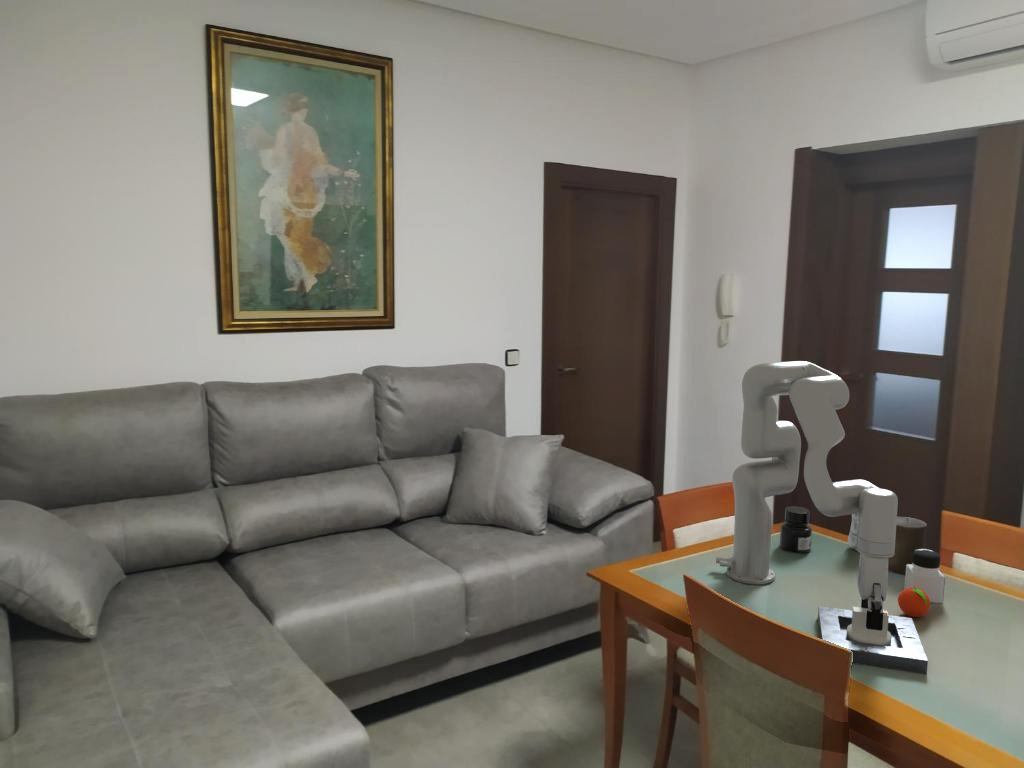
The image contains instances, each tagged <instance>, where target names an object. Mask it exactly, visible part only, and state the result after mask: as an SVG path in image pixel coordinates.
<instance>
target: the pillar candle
mask: <svg viewBox="0 0 1024 768" xmlns="http://www.w3.org/2000/svg"><path fill="white" fill-rule="evenodd" d="M927 526H928V525H927V523H926V522H925V521H923V520H921V519H918V518H915V517H914V518H912V517H908V516H897V521H896V537H895V554H894V556H892V557H889V560H888V572H892V573H894V574H898V575H903V576H905V574H906V565H907V564H912V562H913V552H914V551H915V550H918V549H926V541H927V539H926V538H927Z"/></svg>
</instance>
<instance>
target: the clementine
mask: <svg viewBox="0 0 1024 768" xmlns="http://www.w3.org/2000/svg"><path fill="white" fill-rule="evenodd" d="M897 603H898V604H897V605H898V607H899V608H900V611H902V612H903V613H904V614H905V615H907V616H909V617H910V618H911V617H913V618H921V617H924V616H925V615H926V614H927V613H929V611H930V609H931V602H930V599H929V597H928V596H927V594H926V593H925V592H924V591H922V590H921V589H919V588H915V587H909V588H906V589H903V590H902V591H901V592H900V593H899V594H898V597H897Z"/></svg>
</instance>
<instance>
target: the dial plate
mask: <svg viewBox="0 0 1024 768" xmlns="http://www.w3.org/2000/svg"><path fill="white" fill-rule="evenodd" d="M817 609H818V611H817V622H818V623H819V625H818V630H819V631H820V633H819V639H820V638H821V639H823V640H826V641H829V642H831V643H834V644H836V645H839V646H841V647H844V648H847V649H849V650H851V651H852V652H853V662H852V663H851V664H856V665H863V666H869V667H876V668H882V669H883V668H884V669H891V670H896V671H902V672H904V671H905V672H909V673H916V674H923V675H928V663H929V660H928V657H927V654H926V652H925V650H924V647H923V644H922V642H921V639H920V636H919V633H918V631H917V629H916V625H915V622H914V620H913V618H911V617H906V616H905V617H904V616H898V615H897V616H896V615H890V614H888V615H889V619H888V631H889V632H890V634H891V636H892V638H891V645H890V646H883V645H875V644H868V643H861V642H854V641H850V640H849V639H848V637H847V627H848V626H849V625H850V624H852V612H853V609H852V610H851V609H844V608H843V609H842V608H837V607H827V606H821V605H820V606H818V607H817ZM819 631H818V632H819Z"/></svg>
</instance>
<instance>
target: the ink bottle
mask: <svg viewBox="0 0 1024 768" xmlns="http://www.w3.org/2000/svg"><path fill="white" fill-rule="evenodd" d="M809 523H810V510H809V509H808V508H806V507H802V506H797V505H794V506H787V507H785V509H784V522H783V523H782V524H781V525H780V533H779V548H780V549H782V550H784V551H786V552H790V553H795V554H806V553H809V552H810V551H811V550H812V546H813V545H812V543H813V542H812V540H813V528H812V527H811V526H810V524H809Z"/></svg>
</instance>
